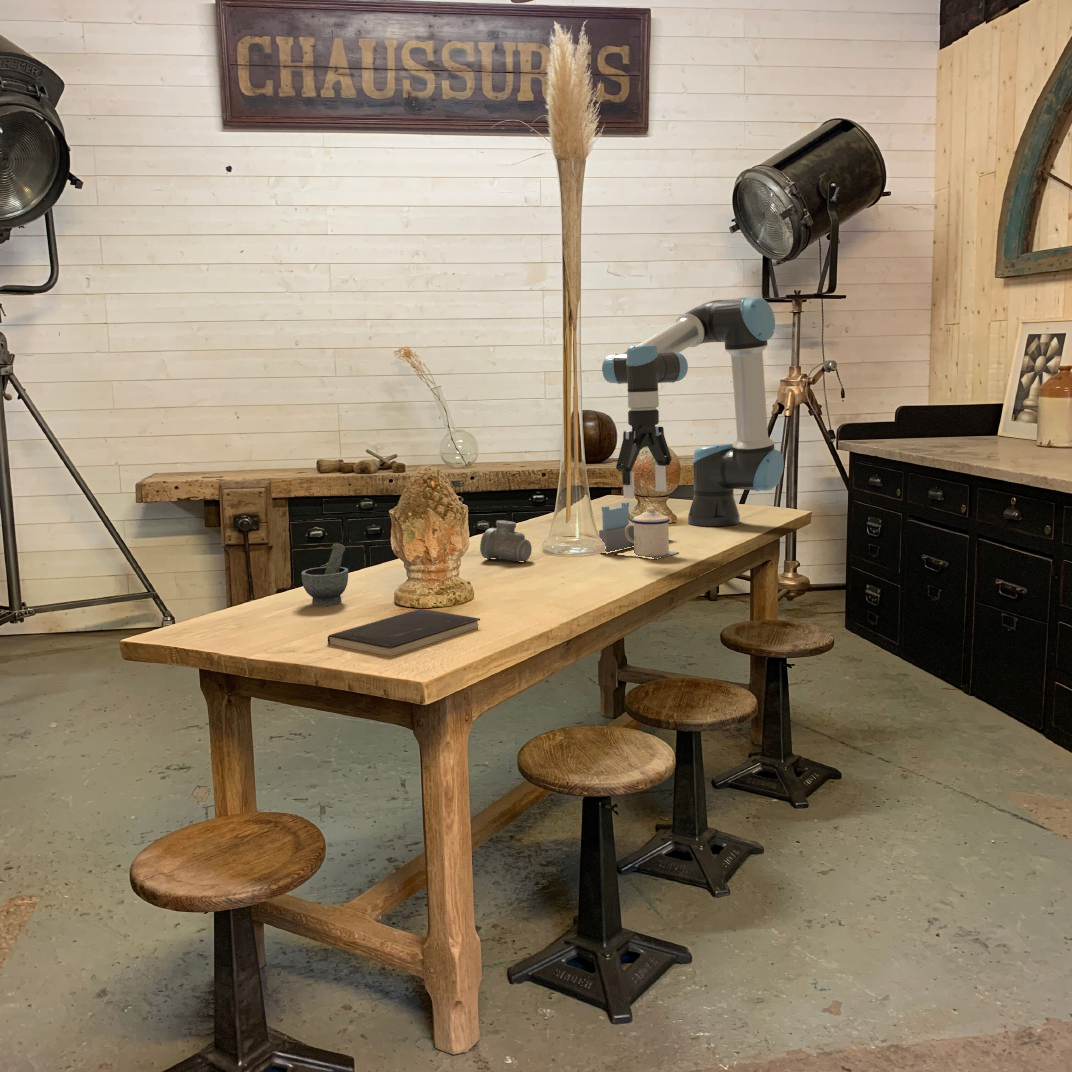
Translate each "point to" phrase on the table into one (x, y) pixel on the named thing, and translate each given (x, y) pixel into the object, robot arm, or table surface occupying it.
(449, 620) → the hardcover book
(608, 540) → the bay rack
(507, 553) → the pipe fitting
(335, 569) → the mortar and pestle
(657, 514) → the teacup with lid
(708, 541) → the table surface
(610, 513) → the blue bezel
